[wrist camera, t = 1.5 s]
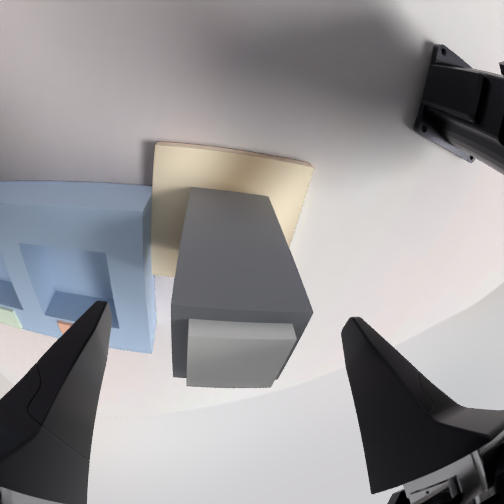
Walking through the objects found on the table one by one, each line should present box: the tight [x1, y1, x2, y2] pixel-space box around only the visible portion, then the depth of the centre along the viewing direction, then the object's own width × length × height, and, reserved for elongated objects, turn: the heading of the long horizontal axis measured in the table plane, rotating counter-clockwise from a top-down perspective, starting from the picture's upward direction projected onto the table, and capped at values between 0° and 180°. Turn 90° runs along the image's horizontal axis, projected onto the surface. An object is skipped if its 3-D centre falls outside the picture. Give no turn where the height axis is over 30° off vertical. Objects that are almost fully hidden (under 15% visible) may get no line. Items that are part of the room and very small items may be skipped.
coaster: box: [151, 141, 314, 277], centre depth 15 cm, size 8×8×1 cm
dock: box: [0, 181, 156, 354], centre depth 14 cm, size 18×11×3 cm, turn 79°
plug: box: [171, 187, 313, 388], centre depth 11 cm, size 4×4×9 cm
